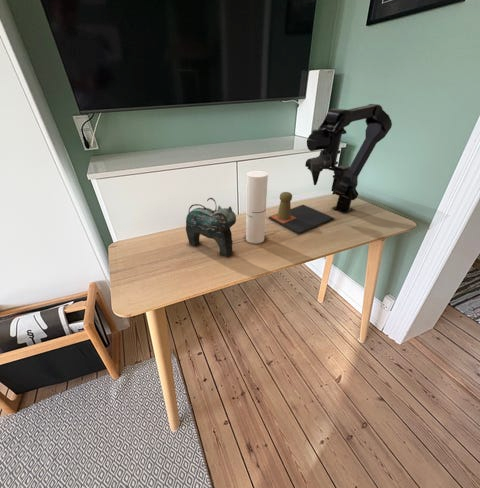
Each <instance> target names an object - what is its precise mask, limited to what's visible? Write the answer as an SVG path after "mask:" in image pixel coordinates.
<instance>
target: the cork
mask: <svg viewBox="0 0 480 488" xmlns="http://www.w3.org/2000/svg"><path fill="white" fill-rule="evenodd" d="M292 199H293V194H292V193H291V192H289V191H282V192H281V193H279V200H280V201H279V206H278V210H277V214H278V215H277V218H278V219H280V220H289V219H290V218H291V209H292V208H291V206H292V205H291V202H292Z"/></svg>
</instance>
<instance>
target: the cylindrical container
mask: <svg viewBox="0 0 480 488" xmlns="http://www.w3.org/2000/svg"><path fill="white" fill-rule="evenodd" d="M245 175H246V180H245V181H246V182H245V184H246V187H245V188H246V190H245V191H246V192H245V195H246V196H245V197H246V198H245V199H246V200H245V201H246V202H245V203H246V204H245V205H246V206H245V208H246V209H245V211H246V212H245V235H246V236H245V240H246V241H247V242H248V243H250V244H260V243H263V242H264V241H265V235H266V234H265V233H266V214H267V198H268V196H267V195H268V180H269V179H268V178H269V172H267V171H264V170H250V171H247V172H246V174H245Z"/></svg>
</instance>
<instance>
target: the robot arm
mask: <svg viewBox="0 0 480 488" xmlns="http://www.w3.org/2000/svg"><path fill="white" fill-rule="evenodd" d="M361 120H362V121H363V120H365V124H366V128H365V138H364V140H363V142H362V144H361V146H360V148H359V149H358V151H357V152H356V155H355V156H354V158H353V161H352V162H351V164H350V166H349V165H345V164H342V165H338V164H339V161H337V160H338V155H339V154H341V150H340V145H341V141H342V136H343V135H346V134H347V130H346V129H345V128H346V127H348V126H350V124H351V123H353V122H357V121H361ZM392 126H393V122H392V119H391V117H390V115H389V114H388V113H387V112H386V111H385V110H384V108H383V106H382V105H381V104H376V103H369V104H366V105H363V106H357V107H352V108H349V109H345V108H330V109H329V110H328V112H327V114H326V115H325V117H324V119H323V120H322V121H321V123H320V125H319V126H318V128H317V129H312V132H311V134H309V135H308V137H307V139H306V147H307V149H308V150H309V151H310V152H315V151H320V152H319V155H318V156H316V157H311V158H307V159H306V161H305V167H306V168H307V170H309V172H310V174H311V177H312V181H313V182H312V183H313V185H314V186H317V184H318V181H319V178H320V174H321V172H323V170H329V171H332V172H333V175H332V178H333V180H332V184H331V191H330V192H334V193H335V194H334V195H336V196H338V199H337V201H336V206H333V207H332V209H333V210H336V211H338V212H339V213H340V212H341V213H344V214H345V213H349V212H350V211H352V210H353V207H351V205H352V201H355V200H356V199H358V196H359V192H358V190H357V186H358V182H359V181H358V179H359V175H360V173H362V170H363V168H364V167H365V165H366V163H367V161H368V159H369V158H370V156H371V154H372V152H373V151H374V149H375V147H376V145H377V143H379V142H380V141H382V140H383V139H385V137H386V136H387V134H388V133H389V132H390V131H391V129H392Z"/></svg>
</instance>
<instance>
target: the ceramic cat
mask: <svg viewBox="0 0 480 488" xmlns="http://www.w3.org/2000/svg"><path fill="white" fill-rule="evenodd" d="M209 200H211V201H213V202H214V204H215V209H211V208H209V207H205V205H202V204H199V203H194V204H191V205H190V206H189V208H188V213H187V215H186V217H185V231H186V237H187V241H188V243H189V245H191V246H193V247H197V246H198V245H199V244H200V236H203V237H205V238H208V239H212V240H214V241H215V243H216V244H217V246H218V249H219V255H220V256H224V257H226V258H228V257H229V256H231V255H232V254H233V236H232V230H231V227H233V226H234V225H235V224H236V222H237V215H236V213H235V212H234V211H233V209H232V206H231V205H230V206H228V207H227V208H226V207H224V208H222V206H220V204H219V205H218V206H217V201H216V199H214V198H213V197H209V198H208V199H207V202H209ZM194 206H196V207H195V208H193V207H194ZM197 206H199V207H197ZM192 208H193V209H192ZM191 209H192V210H191Z"/></svg>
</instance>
